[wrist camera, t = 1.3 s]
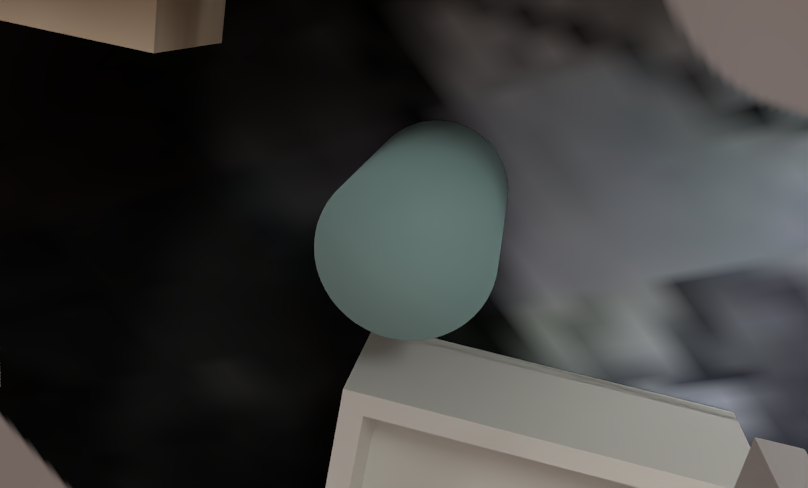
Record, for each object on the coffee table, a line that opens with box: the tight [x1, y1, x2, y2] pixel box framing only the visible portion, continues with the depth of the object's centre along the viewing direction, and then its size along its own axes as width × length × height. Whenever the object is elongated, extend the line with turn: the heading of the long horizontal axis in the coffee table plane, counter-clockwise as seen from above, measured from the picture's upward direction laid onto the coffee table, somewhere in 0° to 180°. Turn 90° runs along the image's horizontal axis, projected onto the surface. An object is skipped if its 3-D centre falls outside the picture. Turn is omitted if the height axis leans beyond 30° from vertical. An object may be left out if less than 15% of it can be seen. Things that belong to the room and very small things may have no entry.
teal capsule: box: [314, 120, 508, 341], centre depth 23 cm, size 5×5×7 cm
